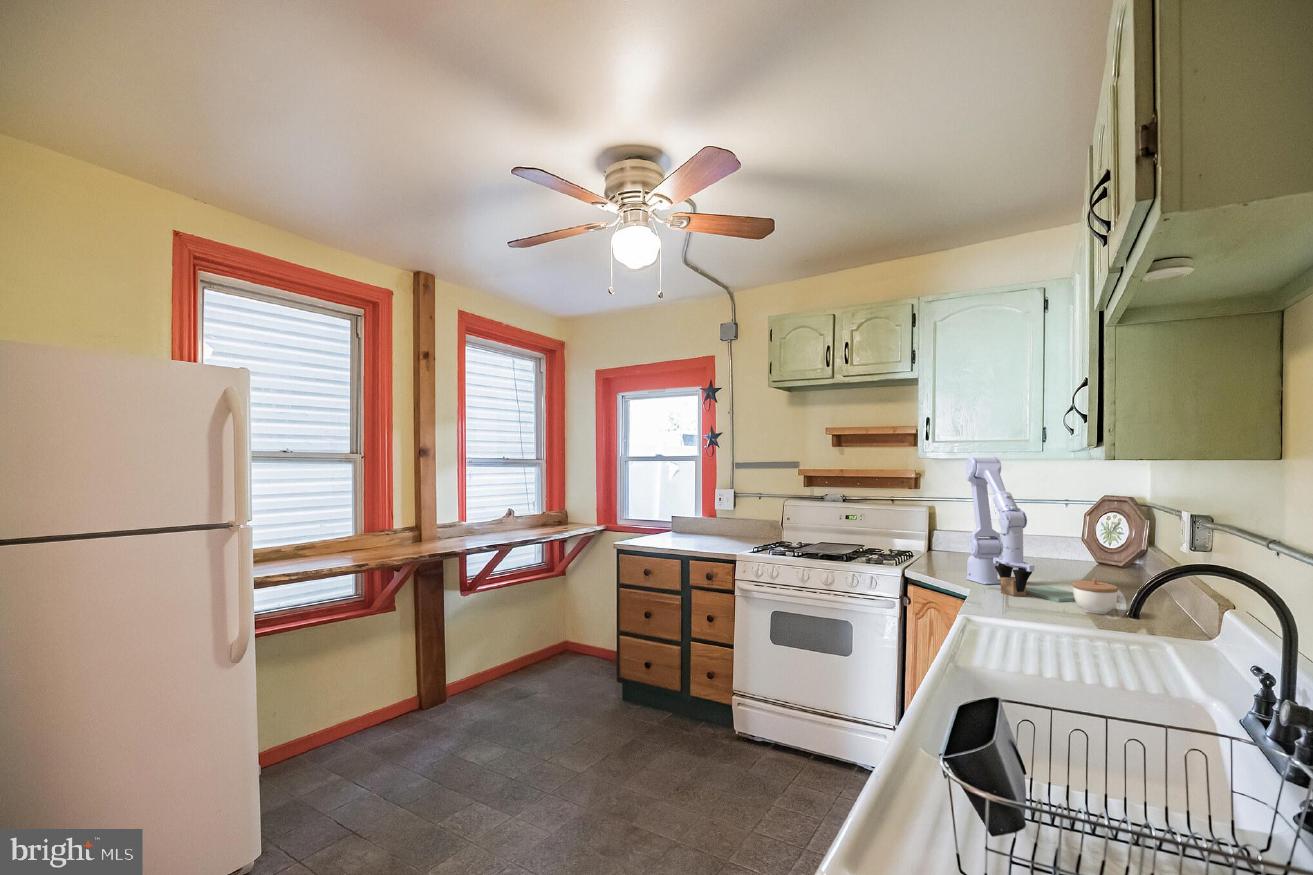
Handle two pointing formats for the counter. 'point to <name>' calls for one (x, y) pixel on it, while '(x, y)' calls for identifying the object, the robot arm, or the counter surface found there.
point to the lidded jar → (1095, 596)
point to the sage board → (1050, 593)
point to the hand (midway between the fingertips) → (1013, 589)
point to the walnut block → (1010, 587)
